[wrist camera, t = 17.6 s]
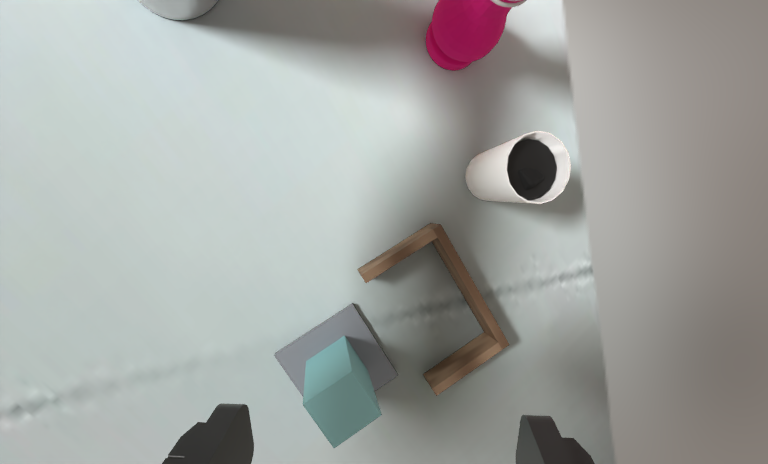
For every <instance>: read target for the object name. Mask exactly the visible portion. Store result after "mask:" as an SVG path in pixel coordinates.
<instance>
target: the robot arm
mask: <svg viewBox="0 0 768 464" xmlns="http://www.w3.org/2000/svg"><path fill="white" fill-rule="evenodd" d="M138 1H139V2H140V3H141V4H142V5H143V6H144V7H146V8H147V9H148V10H150V11H151V12H153V13H155V14H157V15H159V16H162V17H165V18H169V19H173V20H187V19H193V18H196V17H198V16H201V15H203V14H205V13H206V12H207V11H209V10H210V9H211V8H212V7H213V6H214V5H215V4H216V3H217V1H218V0H138ZM253 451H254V442H253V436H252V429H251V423H250V416H249V410H248V407H247V405H244V404H219V405H218V406H217V407H216V408H215V410H214V411H213V413H212V414H211V416H210V418H209V419H208V421H207V422H206V423H202V422H198V423H197V424H196V425H194V426H193V427H192V428H191V429H190V430H189V431H187V432H186V433H185V434H184V435H183V436H181V437H180V439H179V440H178V442H177V443H176V445H175V446H174V447H173V449H172V450H171V452H170V453H169V455H168V458H166V459H165V460H164V462H163V463H162V464H251V461H252V457H253ZM516 464H594V462H593V460H592V458H591V456H590V455H589V454H588V453H587V452H586V451H585V450H584V449H583V448H582V447H581V446H580V444H579V443H578V442H577V441H576V440H575V439H574V438H562V437H561V435H560V433H559V431H558V429H557V427H556V425H555V422H554V421H553V419H552V418H551V417H550V416H533V415H523V416H522V417H521V421H520V428H519V436H518V443H517V450H516Z"/></svg>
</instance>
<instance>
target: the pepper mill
mask: <svg viewBox="0 0 768 464" xmlns="http://www.w3.org/2000/svg"><path fill="white" fill-rule="evenodd" d="M525 1H526V0H439V1H438V3H437V5H436V7H435V9H434V13H433V17H432V22H431V24H430V25H429V27H428V30H427V33H426V47H427V50H428V53H429V55H430V57H431V58H432V60H433V61H434V62H435V63H436V64H438V65H439V66H440V67H442V68H444V69H447V70H460V69H463V68H465V67H467V66H468V65H469V64H470V63H471V62H472V61H476V60H479V59H481V58H482V57H484V56H485V55H487V54H488V53H489V52H490V51H491V50H492V49H493V47H494V46H495V45H496V44H497V43H498V41H499V39H500V37H501V35H502V33H503V30H504V27H505V22H506V17H507V14H508V12H509V11H510V9H511V8H512V7H515V6H519V5H521V4H523V3H524V2H525Z"/></svg>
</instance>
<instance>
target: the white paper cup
mask: <svg viewBox="0 0 768 464" xmlns="http://www.w3.org/2000/svg"><path fill="white" fill-rule="evenodd" d="M570 170H571V163H570V158H569V153H568V151H567V149H566V148H565V146H564V145H563V143H562V142H561V140H559V139H558V138H557V137H555V136H554V135H552V134H551V133H547V132H542V131H534V132H531V133H527V134H524V135H521V136H519V137H517V138H514V139H512V140H510V141H508V142H505V143H503V144H501V145H498V146H496V147H494V148H492V149H489V150H487V151H485V152H482V153H480V154H478V155H477V156H476V157H474V158H473V159H472V160H471V161H470V163H469V165H468V167H467V169H466V177H465V179H466V183H467V187H468V189H469V190H470V191H471V193H472V194H473V195H474V196H475V197H477V198H479V199H480V200H486V201H499V202H515V203H531V204H542V203H545V202H549V201H552V200H553V199H555V198H556V197H557V196H558V195H559V194H560V193H562V192H563V190H564V188H565V186H566V184H567V183H568V181H569V177H570Z"/></svg>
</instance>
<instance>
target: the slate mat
mask: <svg viewBox="0 0 768 464" xmlns="http://www.w3.org/2000/svg"><path fill="white" fill-rule="evenodd" d="M343 336H345V337H346V338H347V340H348V341H349V343H350V344H351V346H352V347H353V349H354V350H355V352H356V353H357V355H358V356H359V358H360V359H361V361H362V362H363V364H364V365H365V367H366V368H367V370H368V372H369V375H370V379H371V382H372V385H373V388H374V391H376V390H377V389H379V388H380V387H382V386H383V385H385V384H386V383H387V382H389V381H390V380H392V379H393V378H395V377H396V376H398V374H397V372H396V371H395V369H394V368H393V366H392V365H391V363H390V361H389V360H388V358H387V357H386V355H385V354H384V352H383V351H382V349H381V347H380V346H379V344H378V343H377V341H376V340H375V338H374V336H373V335H372V333H371V332H370V330H369V329H368V327H367V325H366V324H365V322H364V321H363V319H362V318H361V316H360V315H359V313H358V311H357V310H356V308H355V307H354V305H353V304H351V305H349V306H347V307H346V308H344V309H343V310H341V311H340V312H338V313H337V314H335V315H333V316H332V317H330V318H329V319H327V320H326V321H324V322H323V323H321V324H320V325H318V326H316V327H315V328H313V329H312V330H310V331H309V332H307V333H306V334H304V335H303V336H301V337H299V338H298V339H296V340H295V341H293V342H292V343H290V344H289V345H287V346H285V347H284V348H282V349H281V350H279V351H278V352H276V353H275V355H274V356H275V357H276V359H277V360H278V362H279V363H280V364H281V366H282V367H283V369H284V370H285V372H286V373H287V375H288V376H289V377H290V379H291V380H292V382H293V383H294V385H295V386H296V387H297V389H298V390H299V392H300V393H301V395H302V396H303V395H304V382H305V368H306V361H307V360H308V359H310V358H311V357H313V356H314V355H316V354H317V353H319V352H321V351H322V350H324V349H325V348H327V347H328V346H330V345H331V344H333V343H334V342H336V341H337V340H339V339H340V338H342V337H343Z"/></svg>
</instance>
